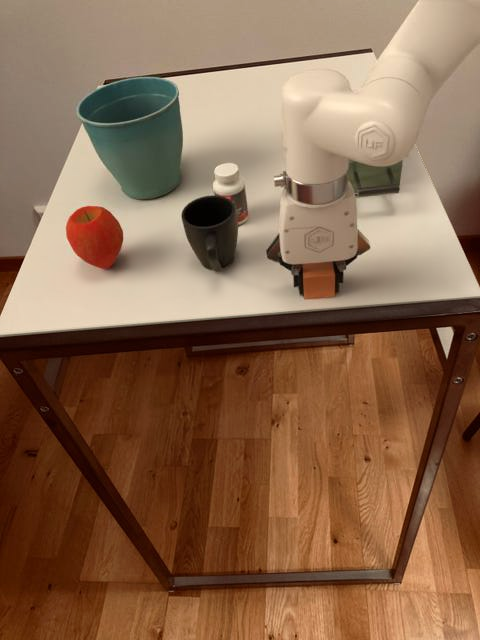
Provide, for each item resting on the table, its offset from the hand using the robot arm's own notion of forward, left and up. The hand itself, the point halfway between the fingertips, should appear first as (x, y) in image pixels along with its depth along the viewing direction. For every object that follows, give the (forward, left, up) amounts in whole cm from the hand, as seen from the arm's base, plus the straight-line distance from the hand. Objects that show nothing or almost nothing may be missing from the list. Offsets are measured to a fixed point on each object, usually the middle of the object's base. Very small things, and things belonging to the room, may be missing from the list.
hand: (318, 286), depth 75 cm
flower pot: (+44, +6, -1) cm, 44 cm away
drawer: (+14, -23, +1) cm, 27 cm away
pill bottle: (+23, 0, -1) cm, 23 cm away
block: (0, 0, 0) cm, 0 cm away
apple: (+27, +23, -1) cm, 35 cm away
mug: (+14, +9, -1) cm, 17 cm away
